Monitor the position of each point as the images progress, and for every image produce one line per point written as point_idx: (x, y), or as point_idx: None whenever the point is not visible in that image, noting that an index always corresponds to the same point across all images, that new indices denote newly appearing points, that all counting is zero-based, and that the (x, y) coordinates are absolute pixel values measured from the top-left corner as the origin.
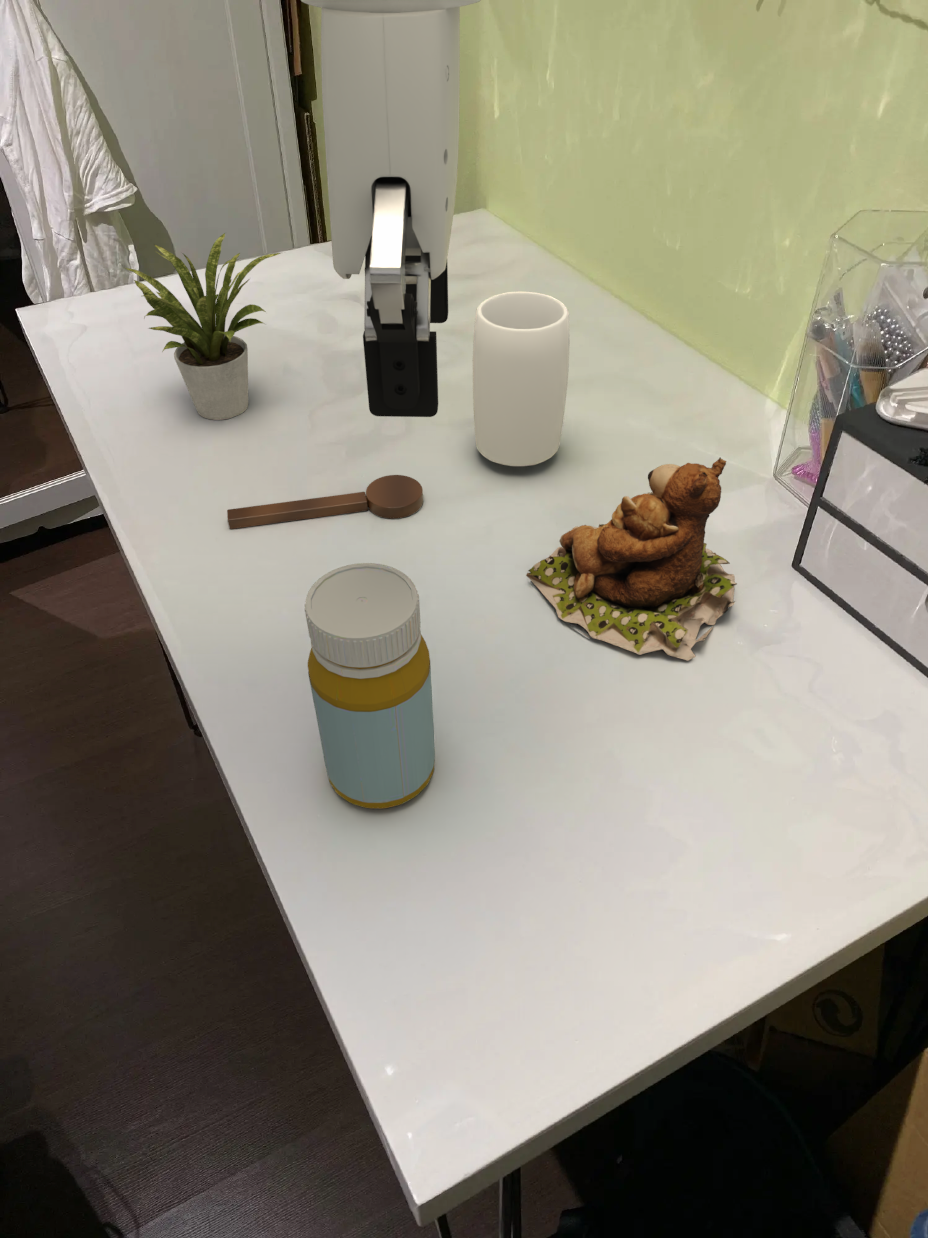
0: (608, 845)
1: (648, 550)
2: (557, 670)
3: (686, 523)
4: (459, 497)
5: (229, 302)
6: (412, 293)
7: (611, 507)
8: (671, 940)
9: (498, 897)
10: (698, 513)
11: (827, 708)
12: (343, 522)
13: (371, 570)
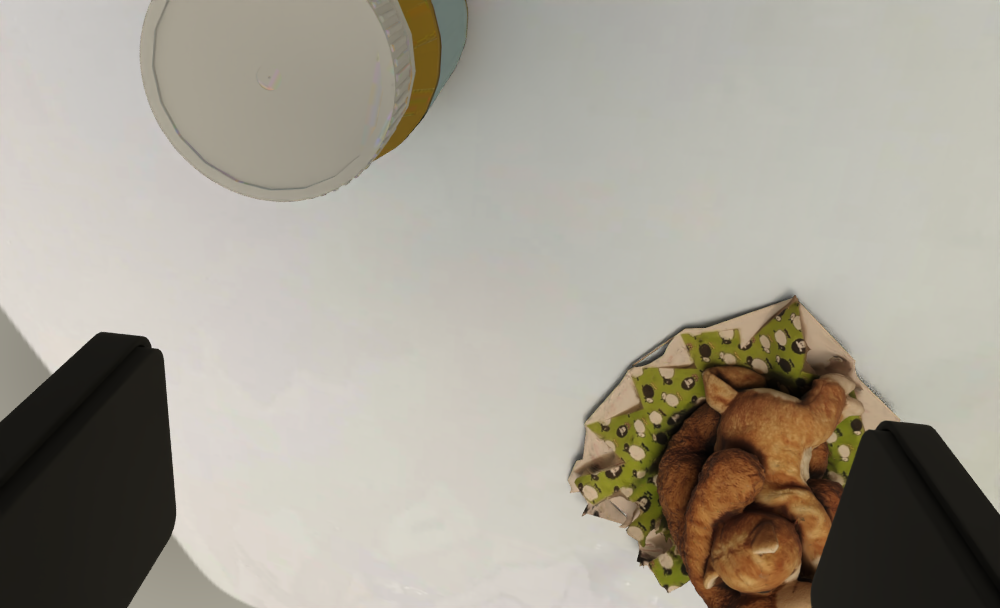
0: (261, 320)
1: (690, 525)
2: (573, 306)
3: (716, 602)
4: None
5: None
6: (882, 588)
7: (964, 455)
8: None
9: (175, 176)
10: None
11: (472, 602)
12: None
13: (372, 99)
